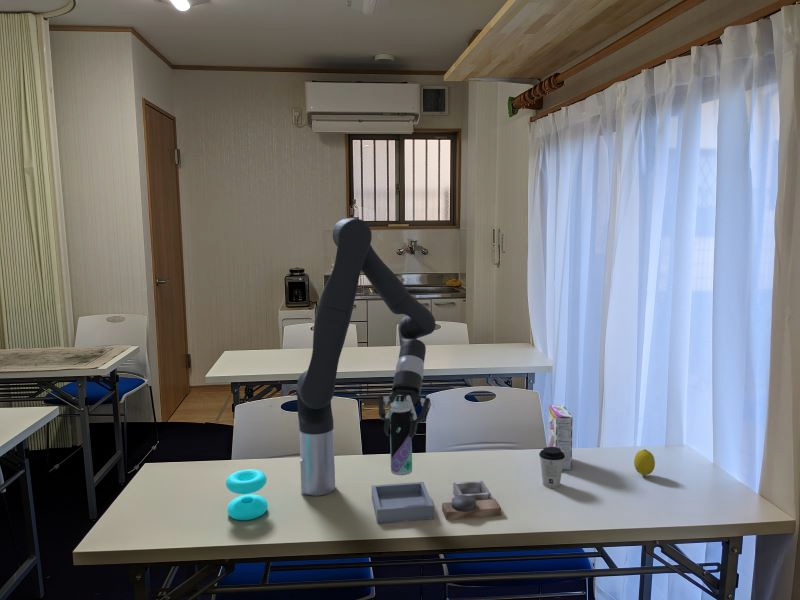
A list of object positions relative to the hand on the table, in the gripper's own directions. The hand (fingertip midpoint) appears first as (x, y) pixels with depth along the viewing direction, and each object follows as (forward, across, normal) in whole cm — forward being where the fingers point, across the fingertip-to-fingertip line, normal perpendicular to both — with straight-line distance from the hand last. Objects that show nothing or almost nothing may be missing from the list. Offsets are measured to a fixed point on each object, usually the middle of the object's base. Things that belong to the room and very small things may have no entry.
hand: (399, 435), depth 157 cm
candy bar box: (-13, +40, +43) cm, 60 cm away
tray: (+13, 0, +15) cm, 20 cm away
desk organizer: (+10, +16, +19) cm, 27 cm away
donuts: (+21, -38, +8) cm, 44 cm away
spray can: (+6, 0, +9) cm, 11 cm away
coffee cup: (-2, +37, +32) cm, 49 cm away
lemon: (-10, +63, +40) cm, 75 cm away
